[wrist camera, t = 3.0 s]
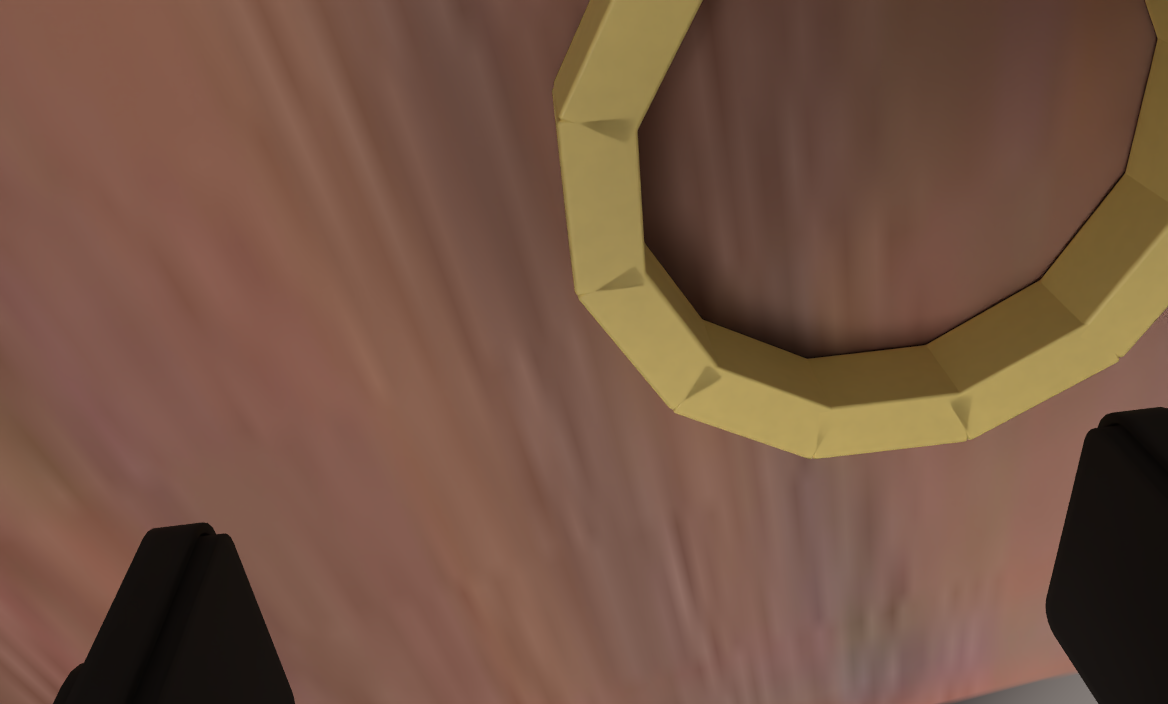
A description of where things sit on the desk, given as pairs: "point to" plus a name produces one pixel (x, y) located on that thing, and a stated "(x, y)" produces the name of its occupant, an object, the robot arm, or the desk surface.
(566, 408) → the desk surface
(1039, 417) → the desk surface
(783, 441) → the ring
